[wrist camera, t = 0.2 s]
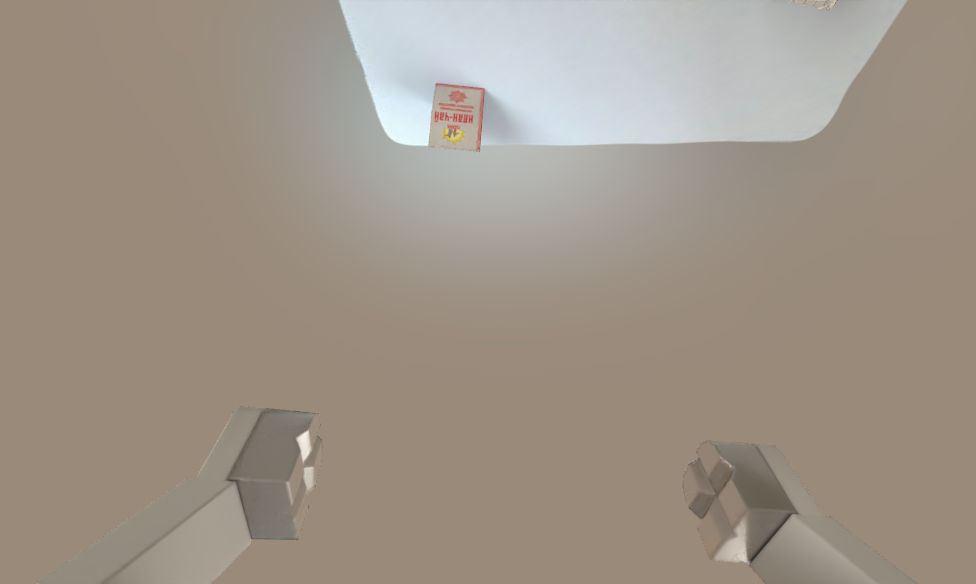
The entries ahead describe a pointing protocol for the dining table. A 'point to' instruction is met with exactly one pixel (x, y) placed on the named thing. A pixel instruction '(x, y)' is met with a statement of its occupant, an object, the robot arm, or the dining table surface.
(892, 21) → the dining table surface
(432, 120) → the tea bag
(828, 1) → the watch
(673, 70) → the dining table surface
